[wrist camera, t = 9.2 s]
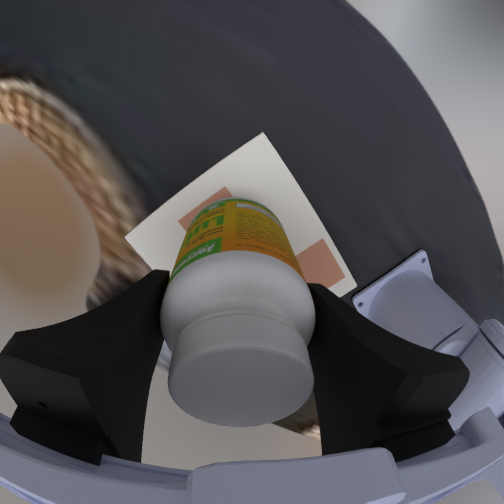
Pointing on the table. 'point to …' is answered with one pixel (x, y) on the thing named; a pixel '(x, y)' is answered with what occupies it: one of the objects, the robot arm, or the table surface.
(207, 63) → the table surface
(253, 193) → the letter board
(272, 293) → the supplement bottle
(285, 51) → the table surface
